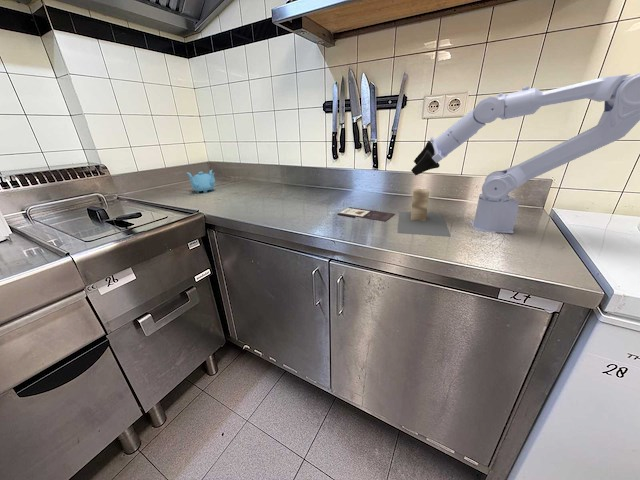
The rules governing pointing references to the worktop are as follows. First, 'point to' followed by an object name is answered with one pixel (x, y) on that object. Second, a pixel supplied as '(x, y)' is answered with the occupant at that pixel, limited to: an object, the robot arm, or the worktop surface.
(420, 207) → the birch block
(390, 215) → the chocolate bar
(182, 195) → the worktop surface
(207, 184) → the teapot
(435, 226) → the rubber mat
